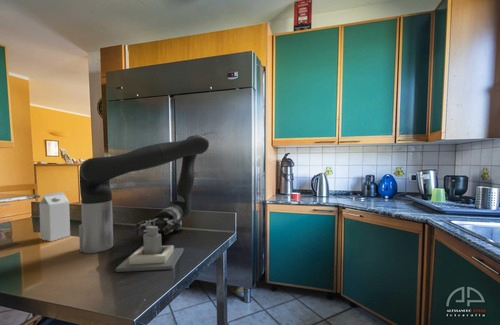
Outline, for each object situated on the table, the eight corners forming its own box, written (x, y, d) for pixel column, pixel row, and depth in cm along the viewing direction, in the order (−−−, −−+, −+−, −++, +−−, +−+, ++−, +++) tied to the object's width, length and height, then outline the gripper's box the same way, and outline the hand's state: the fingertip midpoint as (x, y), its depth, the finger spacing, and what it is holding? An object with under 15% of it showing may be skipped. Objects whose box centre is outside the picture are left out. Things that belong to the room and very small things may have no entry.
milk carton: (40, 239, 92) (38, 194, 91) (60, 234, 98) (59, 191, 98) (50, 241, 89) (48, 194, 89) (70, 236, 95) (69, 192, 95)
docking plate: (115, 271, 63) (115, 261, 63) (136, 252, 76) (136, 244, 76) (172, 269, 64) (172, 258, 64) (183, 250, 77) (183, 242, 77)
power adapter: (151, 253, 73) (150, 217, 73) (162, 256, 71) (161, 219, 70) (142, 257, 70) (141, 219, 70) (154, 260, 68) (153, 221, 68)
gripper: (149, 209, 86) (128, 220, 69) (186, 208, 86) (174, 219, 70) (149, 228, 86) (128, 244, 70) (186, 227, 87) (174, 242, 70)
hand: (151, 231), depth 70 cm, fingers open, 8 cm apart
